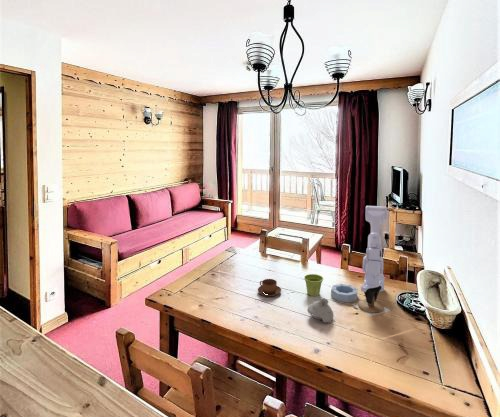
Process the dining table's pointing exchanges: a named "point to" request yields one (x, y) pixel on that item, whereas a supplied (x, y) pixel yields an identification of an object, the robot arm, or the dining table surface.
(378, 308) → the lid
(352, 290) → the bowl
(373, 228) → the robot arm
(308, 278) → the plant pot
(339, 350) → the dining table surface
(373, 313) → the mat
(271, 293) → the cup and saucer
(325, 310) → the grey clay mound
